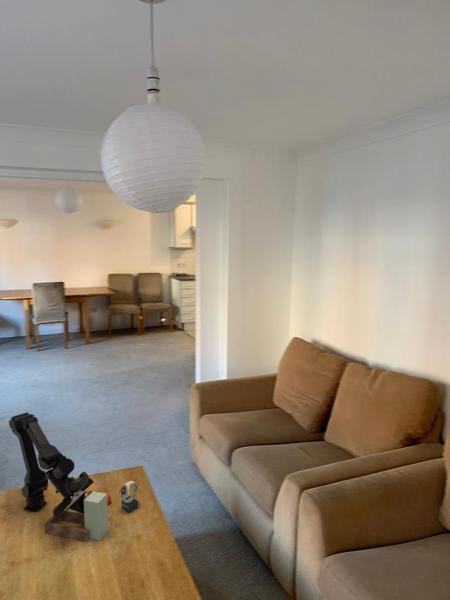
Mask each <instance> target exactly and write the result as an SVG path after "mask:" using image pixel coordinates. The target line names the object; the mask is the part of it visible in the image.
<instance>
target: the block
mask: <svg viewBox="0 0 450 600" xmlns="http://www.w3.org/2000/svg"><path fill="white" fill-rule="evenodd" d="M92 491H93V492H92V493H91V494H90V495H89V496H88V497H87V498H86V499H85V500H84V517H85V524H84V529H85V530H89V540H94V541H98V542H100V541H101V540H102V539H103V538H104V536H105V535H106V534H107V533H108V532H109V516H108V515H109V514H108V513H109V511H108V507H109V506H108V505H107V495H108V493H105V492H103V493H102V492H101V491H98V492H94V491H95V490H92ZM100 492H101V493H100Z"/></svg>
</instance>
